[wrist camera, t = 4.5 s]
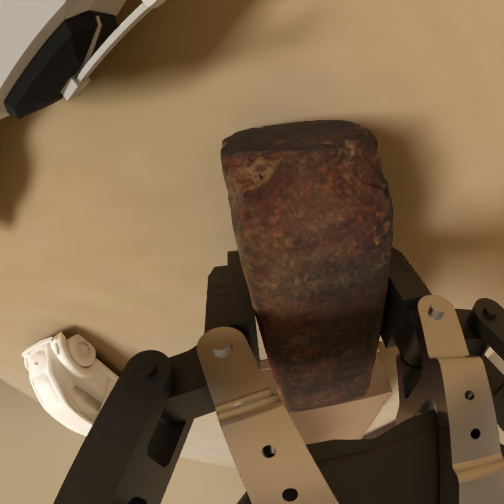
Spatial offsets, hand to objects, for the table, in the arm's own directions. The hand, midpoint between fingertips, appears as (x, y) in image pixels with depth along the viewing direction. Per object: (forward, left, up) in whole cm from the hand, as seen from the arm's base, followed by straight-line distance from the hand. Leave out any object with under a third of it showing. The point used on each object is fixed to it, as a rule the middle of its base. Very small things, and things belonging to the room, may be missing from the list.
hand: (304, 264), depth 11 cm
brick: (0, 0, -1) cm, 1 cm away
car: (+13, +10, -2) cm, 17 cm away
